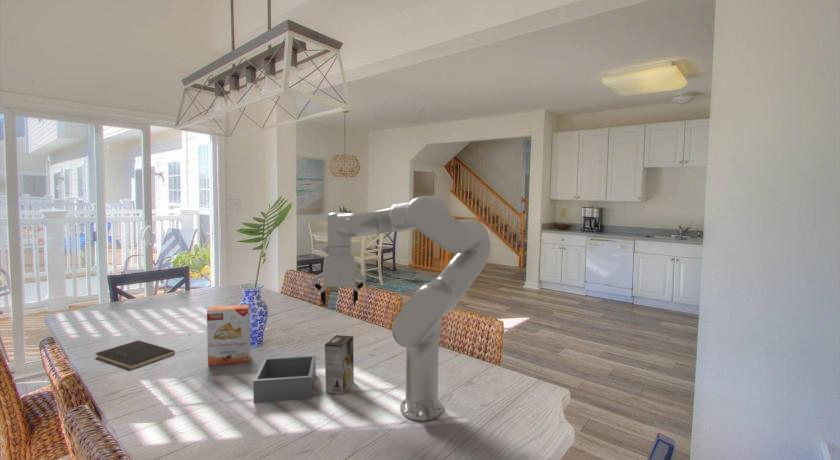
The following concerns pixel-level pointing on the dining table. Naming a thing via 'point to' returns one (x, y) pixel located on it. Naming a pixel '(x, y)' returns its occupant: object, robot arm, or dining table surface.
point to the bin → (285, 379)
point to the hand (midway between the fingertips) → (339, 303)
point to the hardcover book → (134, 354)
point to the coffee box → (339, 364)
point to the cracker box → (228, 334)
